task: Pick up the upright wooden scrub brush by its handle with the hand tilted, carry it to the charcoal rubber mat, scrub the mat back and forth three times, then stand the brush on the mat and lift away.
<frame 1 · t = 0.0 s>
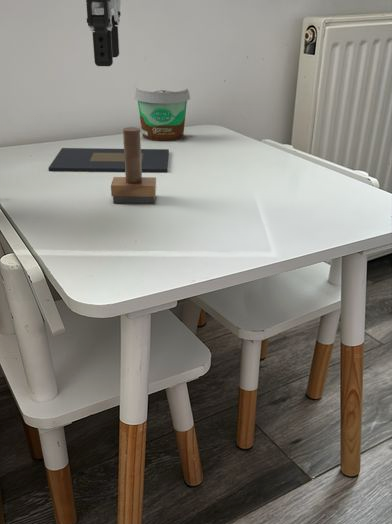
hand: (107, 61, 74), 21 cm above the table, tool pointing down, fingers open, 8 cm apart
brush: (134, 199, 91), on the table
mat: (112, 161, 109), on the table
food container: (165, 139, 125), on the table
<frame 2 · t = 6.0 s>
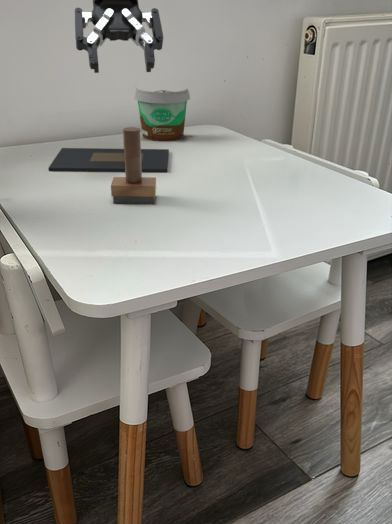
hand: (122, 69, 91), 18 cm above the table, tool tilted 45°, fingers open, 8 cm apart
nothing on the table moved.
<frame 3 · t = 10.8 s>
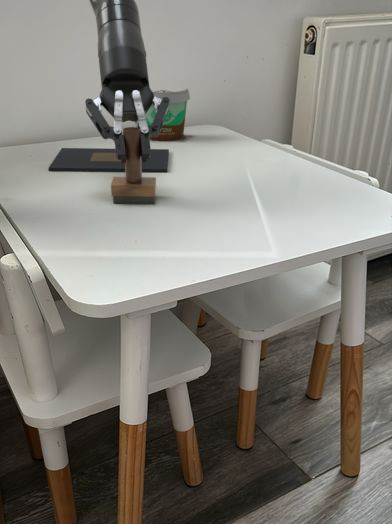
hand: (133, 159, 86), 7 cm above the table, tool tilted 45°, fingers closed on brush, 2 cm apart
brush: (134, 199, 91), on the table, touching gripper
everything else where it was.
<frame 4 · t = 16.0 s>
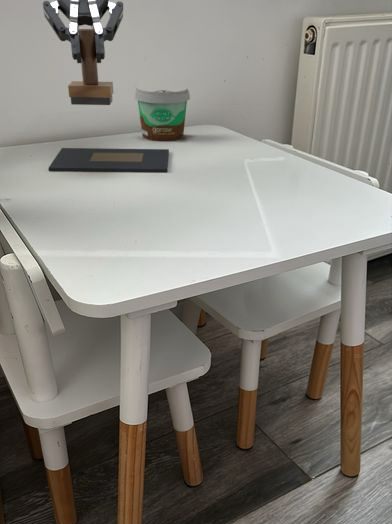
hand: (88, 59, 91), 19 cm above the table, tool tilted 45°, fingers closed on brush, 2 cm apart
brush: (92, 102, 97), point 12 cm above the table, touching gripper
everything else where it was.
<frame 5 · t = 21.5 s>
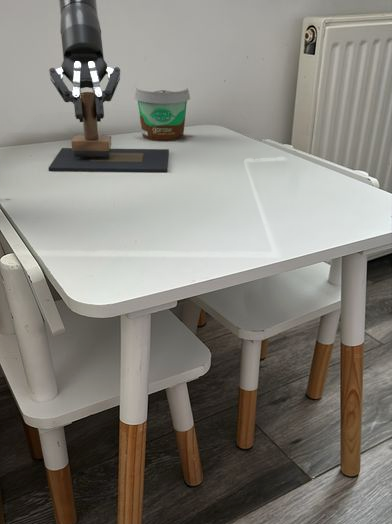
hand: (89, 119, 103), 8 cm above the table, tool tilted 45°, fingers closed on brush, 2 cm apart
brush: (92, 154, 109), point 1 cm above the table, touching gripper
everything else where it was.
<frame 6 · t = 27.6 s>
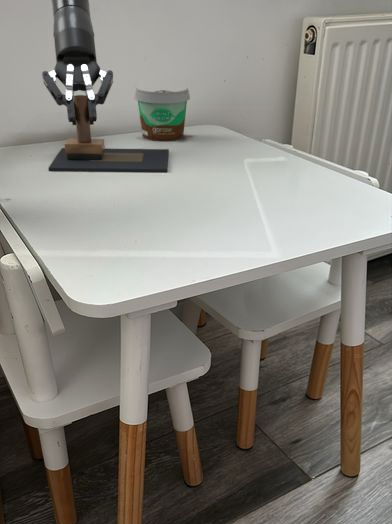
hand: (82, 122, 103), 8 cm above the table, tool tilted 45°, fingers closed on brush, 2 cm apart
brush: (86, 157, 109), point 1 cm above the table, touching gripper
everything else where it was.
when the fingers open (8 cm above the table, at t = 32.5 s): brush stays where it is, resting on mat.
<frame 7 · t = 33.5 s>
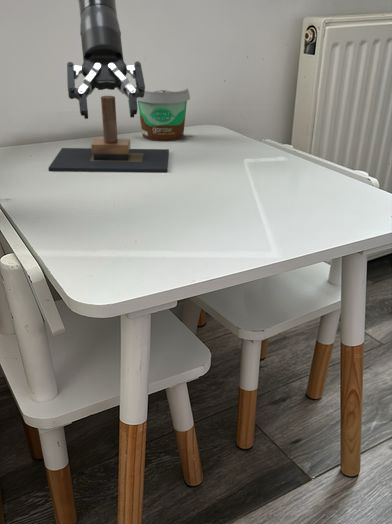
hand: (109, 115, 103), 9 cm above the table, tool tilted 45°, fingers open, 8 cm apart
brush: (111, 157, 109), point 1 cm above the table, touching mat
everything else where it was.
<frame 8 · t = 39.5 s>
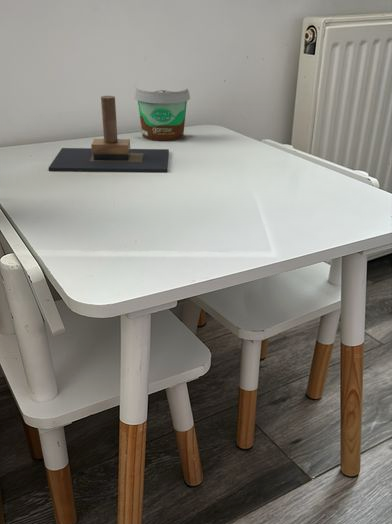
nothing on the table moved.
at the end: brush inside the target area on the mat (0.1 cm from its centre), point 0.6 cm above the mat's base; brush tilted 0°; the gripper is holding nothing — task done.
